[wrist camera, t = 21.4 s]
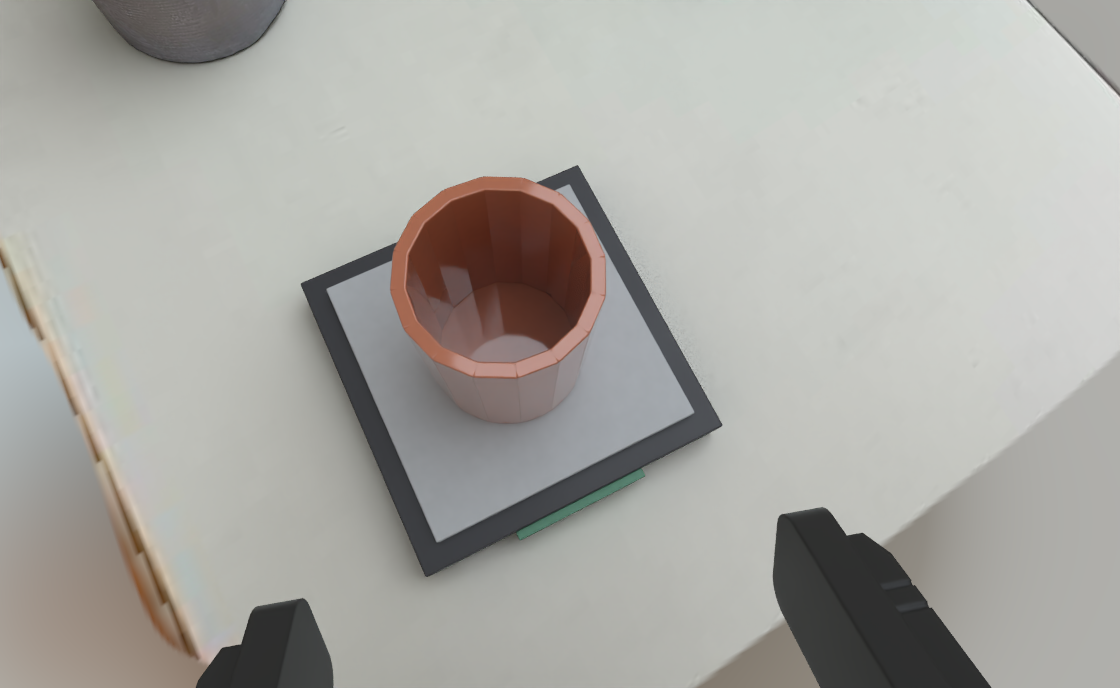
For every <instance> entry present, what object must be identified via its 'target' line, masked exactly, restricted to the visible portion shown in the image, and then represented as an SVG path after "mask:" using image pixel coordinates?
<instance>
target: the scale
mask: <svg viewBox="0 0 1120 688" xmlns="http://www.w3.org/2000/svg"><path fill="white" fill-rule="evenodd" d="M537 184H540V185H542V186H545V187H547V188H550V189H552V190H555V191H557V192H559V193H560V194H562V195H563V196H564V197H565V198H566V199H567V200H569V201H570V202H571V203H572V204H573V205H574V206H575V207H576V208H577V209H578V210H579V211H580V212H581V213H582V214H583V215H584V216H585V217H586V218H588V219H589V221H590V222H591V224H592V227H593V229H594V231H595V233H596V236H597V238H598V240H599V242H600V245H601V247H602V249H603V251H604V254H605V258H606V298H605V301H604V304H603V307H602V311H601V314H600V317H599V320H598V323H597V326H596V329H595V332H594V336H593V339H592V342H591V345H590V348H589V351H588V354H587V357H586V361H585V363H584V366H583V368H582V370H581V373H580V375H579V378H578V380H577V382H576V384H575V387H574V388H573V390H572V391H571V392H570V393H569V395H568V396H567V397H566V398H565V399H564V400H563V401H562V403H560V404H559V405H558V406H557V407H556V408H554V409H553V410H551V411H550V412H548V413H547V414H545V415H543V416H541V417H539V418H537V419H534V420H531V421H527V422H523V423H517V424H497V423H492V422H487V421H484V420H481V419H478V418H475V417H473V416H471V415H470V414H468V413H466V412H465V411H463V410H461V409H460V408H459V407H458V406H457V405H455V404H454V403H453V402H452V401H451V400H450V399H449V397H448V396H447V395H446V394H445V393H444V392H443V390H442V389H441V388H440V387H439V385H438V384H437V382H436V381H435V379H434V377H433V376H432V374H431V373H430V371H429V369H428V368H427V366H426V365H425V363H424V361H423V360H422V358H421V357H420V355H419V353H418V352H417V350H416V349H415V347H414V345H413V344H412V342H411V340H410V339H409V337H408V336H407V334H406V332H405V331H404V329H403V327H402V324H401V322H400V319H399V316H398V313H397V310H396V308H395V305H394V302H393V299H392V296H391V294H390V281H391V268H392V256H393V251H394V248H395V246H396V244H397V243H398V242H397V243H394V244H392V245H390V246H387V247H385V248H383V249H380V250H378V251H376V252H373V253H371V254H369V255H366V256H364V257H362V258H359V259H357V260H355V261H352V262H350V263H348V264H345V265H343V266H341V267H338V268H336V269H333V270H331V271H329V272H326V273H324V274H322V275H319V276H317V277H315V278H312V279H310V280H308V281H305V282H303V283H301V286H302V289H303V291H304V293H305V296H306V298H307V300H308V303H309V305H310V307H311V310H312V312H313V314H314V317H315V319H316V321H317V324H318V326H319V329H320V331H321V333H322V336H323V338H324V340H325V343H326V345H327V347H328V350H329V352H330V354H331V357H332V359H333V361H334V364H335V366H336V368H337V371H338V373H339V375H340V378H341V380H342V382H343V385H344V387H345V389H346V392H347V394H348V396H349V399H350V401H351V403H352V406H353V408H354V410H355V413H356V415H357V417H358V420H359V422H360V424H361V427H362V429H363V431H364V434H365V436H366V438H367V441H368V443H369V445H370V448H371V450H372V452H373V455H374V457H375V459H376V462H377V464H378V466H379V469H380V471H381V473H382V476H383V478H384V480H385V483H386V485H387V487H388V490H389V492H390V494H391V497H392V499H393V501H394V504H395V506H396V508H397V511H398V513H399V516H400V518H401V520H402V523H403V525H404V527H405V530H406V532H407V534H408V537H409V539H410V541H411V544H412V546H413V548H414V551H415V553H416V555H417V558H418V560H419V562H420V565H421V567H422V569H423V572H424V574H425V576H426V577H428V576H430V575H433V574H435V573H437V572H439V571H441V570H443V569H445V568H447V567H449V566H451V565H453V564H454V563H456V562H458V561H460V560H462V559H464V558H466V557H468V556H470V555H472V554H474V553H476V552H478V551H480V550H482V549H484V548H486V547H488V546H490V545H492V544H494V543H496V542H497V541H499V540H501V539H503V538H505V537H507V536H509V535H511V534H513V533H515V532H516V534H517V536H518V538H519V540H522V539H524V538H526V537H528V536H530V535H532V534H534V533H536V532H538V531H540V530H542V529H544V528H545V527H547V526H549V525H551V524H553V523H555V522H557V521H559V520H561V519H563V518H565V517H567V516H569V515H571V514H573V513H575V512H577V511H579V510H580V509H582V508H584V507H586V506H588V505H590V504H592V503H594V502H596V501H598V500H600V499H602V498H604V497H606V496H608V495H610V494H612V493H614V492H615V491H617V490H619V489H621V488H623V487H625V486H627V485H629V484H631V483H633V482H635V481H637V480H639V479H641V478H643V477H645V474H644V472H643V470H642V467H644V466H646V465H648V464H650V463H652V462H654V461H656V460H658V459H660V458H662V457H664V456H666V455H668V454H670V453H671V452H673V451H675V450H677V449H679V448H681V447H683V446H685V445H687V444H689V443H691V442H693V441H695V440H697V439H699V438H701V437H703V436H705V435H707V434H709V433H711V432H712V431H714V430H716V429H718V428H720V427H721V426H722V423H721V421H720V420H719V418H718V416H717V414H716V412H715V411H714V409H713V407H712V405H711V403H710V402H709V400H708V398H707V396H706V394H705V393H704V391H703V389H702V387H701V385H700V384H699V382H698V380H697V378H696V376H695V375H694V373H693V371H692V369H691V367H690V366H689V364H688V362H687V360H686V358H685V357H684V355H683V353H682V351H681V349H680V348H679V346H678V344H677V342H676V340H675V339H674V337H673V335H672V333H671V332H670V330H669V328H668V326H667V324H666V323H665V321H664V319H663V317H662V315H661V314H660V312H659V310H658V308H657V306H656V305H655V303H654V301H653V299H652V297H651V296H650V294H649V292H648V290H647V288H646V287H645V285H644V283H643V281H642V279H641V278H640V276H639V274H638V272H637V270H636V269H635V267H634V265H633V263H632V261H631V260H630V258H629V256H628V254H627V252H626V251H625V249H624V247H623V245H622V244H621V242H620V240H619V238H618V236H617V235H616V233H615V231H614V229H613V227H612V226H611V224H610V222H609V220H608V218H607V217H606V215H605V213H604V211H603V209H602V208H601V206H600V204H599V202H598V200H597V199H596V197H595V195H594V193H593V191H592V190H591V188H590V186H589V184H588V182H587V181H586V179H585V177H584V175H583V173H582V172H581V170H580V168H579V166H578V165H577V166H575V167H572V168H570V169H568V170H565V171H563V172H561V173H558V174H556V175H554V176H551V177H549V178H546V179H544V180H542V181H539V182H537Z"/></svg>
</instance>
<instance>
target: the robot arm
mask: <svg viewBox="0 0 1120 688" xmlns="http://www.w3.org/2000/svg"><path fill="white" fill-rule="evenodd" d="M773 584H774V590H775V594H776V598H777V601H778V604H779V607H780V609H781V611H782V613H783V615H784V617H785V619H786V621H787V623H788V625H789V627H790V629H791V631H792V633H793V635H794V637H795V639H796V641H797V643H798V645H799V647H800V649H801V651H802V652H803V655H804V656H805V658H806V660H807V662H808V664H809V666H810V668H811V670H812V672H813V674H814V676H815V678H816V680H817V682H818V683H819V686H820V688H991V686H990V685H989V684H988V682H987V681H986V680H985V678H984V677H983V676H982V675H981V673H980V672H979V670H978V669H977V668H976V666H975V665H974V664H973V662H972V661H971V660H970V658H969V657H968V656H967V654H966V653H965V652H964V651H963V649H962V648H961V646H960V645H959V644H958V642H957V641H956V640H955V638H954V637H953V636H952V634H951V633H950V632H949V630H948V629H947V628H946V626H945V625H944V624H943V622H942V621H941V619H940V618H939V617H938V616H937V614H936V613H935V611H934V610H933V609H932V608H929V607H928V604H927V601H926V599H925V598H924V597H923V596H922V594H921V593H920V591H919V590H918V589H917V587H916V586H915V585H914V586H913V585H912V583H911V579H910V578H909V577H908V575H907V574H906V573H905V571H904V570H903V569H902V567H901V566H900V565H899V563H898V562H897V561H896V559H895V558H894V557H893V555H892V554H891V553H890V552H888V551H887V550H886V549H884V548H883V547H882V546H880V545H879V544H877V543H876V542H875V541H873V540H872V539H870V538H869V537H868V536H866V535H865V534H864V533H859V534H853V535H848V536H847V535H846V534H845V532H844V531H843V530H842V528H841V527H840V525H839V524H838V522H837V521H836V519H835V518H834V517H833V515H832V514H831V513H830V512H829V511H828V510H827V509H826V508H823V507H821V508H815V509H810V510H804V511H798V512H793V513H787V514H782V515H780V516H779V518H778V523H777V533H776V544H775V556H774V567H773ZM196 688H333V669H332V663H331V658H330V655H329V652H328V650H327V648H326V645H325V643H324V640H323V638H322V635H321V633H320V631H319V628H318V626H317V623H316V621H315V618H314V616H313V614H312V611H311V609H310V606H309V604H308V602H307V601H306V600H305V599H303V598H302V599H296V600H291V601H285V602H279V603H274V604H268V605H263V606H257V607H255V608H254V609H253V611H252V612H251V614H250V617H249V620H248V624H247V627H246V630H245V634H244V637H243V640H242V644H241V645H235V646H230V647H224V648H222V649H221V650H220V651H219V653H218V654H217V655H216V657H215V658H214V660H213V661H212V662H211V664H210V665H209V666H208V668H207V669H206V671H205V672H204V673H203V675H202V676H201V677H200V679H199V680H198V683H197V686H196Z"/></svg>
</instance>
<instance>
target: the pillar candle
mask: <svg viewBox="0 0 1120 688" xmlns="http://www.w3.org/2000/svg"><path fill="white" fill-rule="evenodd" d="M92 1H93V2H94V3H95V4H96V6H97V7H98V8H99V9H100V11H101V12H102V13H103V14H104V16H105V17H106V18H107V19H108V21H109V22H110V23H111V24H112V26H113V27H114V28H115V29H116V30H117V31H118V33H119V34H120V35H121V36H122V37H123V38H124V39H125V40H126V41H127V42H128V43H129V44H131V45H132V46H134V47H135V48H136V49H138V50H140V51H142V52H144V53H146V54H148V55H151V56H153V57H156V58H160V59H163V60H168V61H174V62H191V63H192V62H193V63H196V62H203V61H210V60H215V59H218V58H222V57H227V56H229V55H232V54H234V53H236V52H237V51H239V50H242V49H244V48H247V47H248V46H250V45H251V44H253V43H254V42H255V41H257V40H258V39H259V38H260V37H261V36H262V34H263V33H264V32H265V30H266V29H267V27H268V26H269V25H270V23H271V22H272V21H273V19H274V18H275V17H276V15H277V13H278V12H279V10H280V8H281V6H282V4H283V3H284V1H285V0H92Z"/></svg>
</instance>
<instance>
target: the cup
mask: <svg viewBox="0 0 1120 688" xmlns="http://www.w3.org/2000/svg"><path fill="white" fill-rule="evenodd" d="M390 294H391V296H392V299H393V302H394V305H395V308H396V310H397V313H398V316H399V319H400V322H401V324H402V327H403V329H404V331H405V332H406V334H407V336H408V337H409V339H410V340H411V342H412V344H413V345H414V347H415V349H416V350H417V352H418V353H419V355H420V357H421V358H422V360H423V361H424V363H425V365H426V366H427V368H428V369H429V371H430V373H431V374H432V376H433V377H434V379H435V381H436V382H437V384H438V385H439V387H440V388H441V389H442V390H443V392H444V393H445V394H446V395H447V396H448V397H449V399H450V400H451V401H452V402H453V403H454V404H455V405H457V406H458V407H459V408H460V409H461V410H463V411H465V412H466V413H468V414H470V415H471V416H473V417H475V418H478V419H481V420H484V421H487V422H492V423H497V424H517V423H523V422H527V421H531V420H534V419H537V418H539V417H541V416H543V415H545V414H547V413H548V412H550V411H551V410H553V409H554V408H556V407H557V406H558V405H559V404H560V403H562V401H563V400H564V399H565V398H566V397H567V396H568V395H569V393H570V392H571V391H572V390H573V388H574V387H575V384H576V382H577V380H578V378H579V375H580V373H581V370H582V368H583V366H584V363H585V361H586V357H587V354H588V351H589V348H590V345H591V342H592V339H593V336H594V332H595V329H596V326H597V323H598V320H599V317H600V314H601V311H602V307H603V304H604V301H605V298H606V258H605V254H604V251H603V249H602V247H601V245H600V242H599V240H598V238H597V236H596V233H595V231H594V229H593V227H592V224H591V222H590V221H589V219H588V218H586V217H585V216H584V215H583V214H582V213H581V212H580V211H579V210H578V209H577V208H576V207H575V206H574V205H573V204H572V203H571V202H570V201H569V200H567V199H566V198H565V197H564V196H563V195H562V194H560V193H559V192H557V191H555V190H552V189H550V188H547V187H545V186H542V185H540V184H537V183H535V182H533V181H530V180H528V179H525V178H516V177H483V178H482V177H480V178H477V179H474V180H471V181H468V182H465V183H462V184H459V185H456V186H453V187H450V188H447V189H445V190H444V191H441V192H440V193H439V194H438V195H436V196H435V197H434V198H433V199H431V200H430V201H429V202H428V203H427V204H425V205H424V206H423V207H422V208H421V209H419V210H418V211H417V212H416V213H414V214H413V216H412V217H411V218H410V220H409V222H408V224H407V226H406V228H405V230H404V231H403V233H402V235H401V237H400V239H399V241H398V243H397V244H396V246H395V248H394V251H393V256H392V268H391V281H390Z"/></svg>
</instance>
